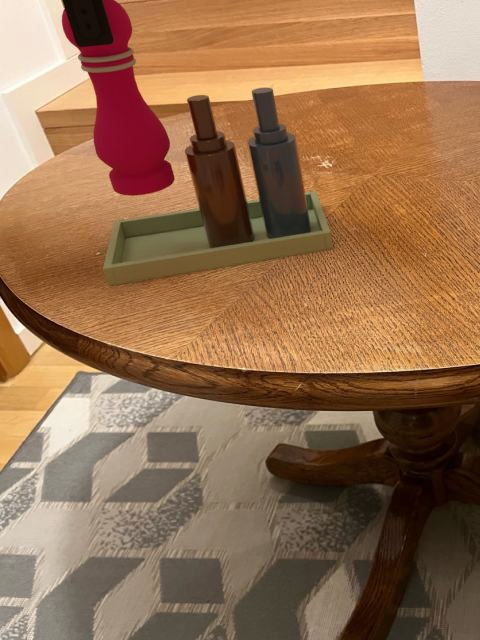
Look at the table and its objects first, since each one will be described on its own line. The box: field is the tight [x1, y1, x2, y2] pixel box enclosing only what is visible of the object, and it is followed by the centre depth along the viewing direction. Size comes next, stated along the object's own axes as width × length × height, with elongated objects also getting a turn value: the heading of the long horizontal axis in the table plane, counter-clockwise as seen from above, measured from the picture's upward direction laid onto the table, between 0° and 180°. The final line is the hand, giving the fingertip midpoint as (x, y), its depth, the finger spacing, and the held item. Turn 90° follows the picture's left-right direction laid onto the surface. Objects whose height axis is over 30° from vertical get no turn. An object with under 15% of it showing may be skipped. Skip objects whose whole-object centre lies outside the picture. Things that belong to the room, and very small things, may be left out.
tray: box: [102, 190, 334, 287], centre depth 83 cm, size 24×13×2 cm, turn 107°
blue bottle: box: [246, 87, 311, 239], centre depth 81 cm, size 5×5×16 cm
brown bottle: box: [184, 94, 255, 248], centre depth 80 cm, size 5×5×16 cm
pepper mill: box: [61, 0, 176, 197], centre depth 72 cm, size 7×7×20 cm
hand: (99, 35), depth 70 cm, fingers closed on pepper mill, 6 cm apart
